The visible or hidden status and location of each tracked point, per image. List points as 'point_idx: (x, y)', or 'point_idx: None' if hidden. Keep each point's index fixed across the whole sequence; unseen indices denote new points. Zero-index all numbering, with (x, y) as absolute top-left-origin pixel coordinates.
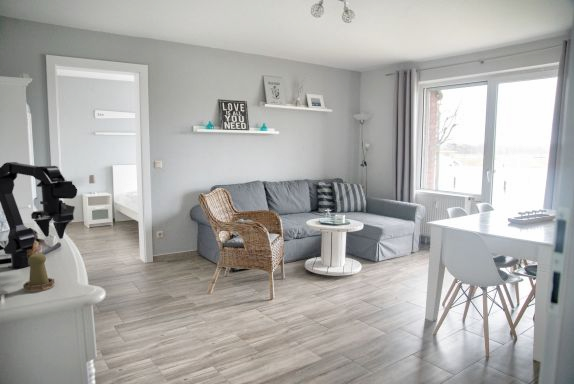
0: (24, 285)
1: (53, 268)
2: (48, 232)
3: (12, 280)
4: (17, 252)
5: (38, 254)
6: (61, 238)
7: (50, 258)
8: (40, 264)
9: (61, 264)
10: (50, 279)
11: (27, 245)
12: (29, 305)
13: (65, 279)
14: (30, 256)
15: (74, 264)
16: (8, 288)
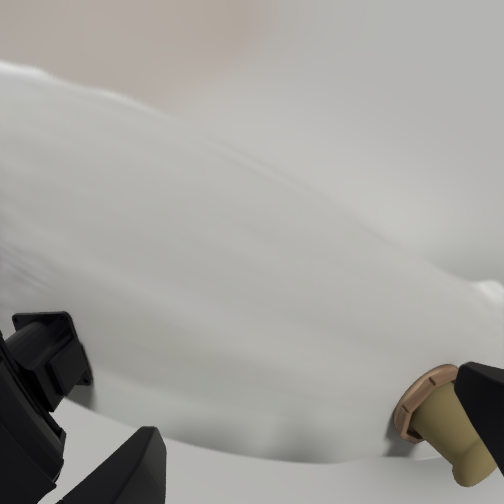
0: (421, 441)
1: (223, 277)
2: (146, 465)
3: (262, 442)
4: (51, 420)
5: (496, 466)
6: (465, 372)
7: (8, 191)
8: None
9: (172, 206)
10: (450, 380)
11: (28, 403)
12: None
13: (442, 318)
14: (476, 483)
15: (248, 157)
16: (343, 458)
